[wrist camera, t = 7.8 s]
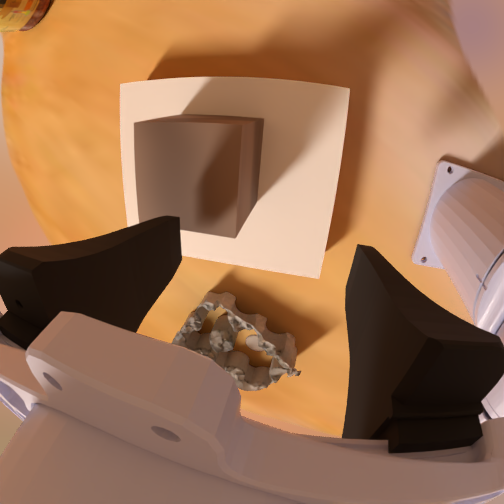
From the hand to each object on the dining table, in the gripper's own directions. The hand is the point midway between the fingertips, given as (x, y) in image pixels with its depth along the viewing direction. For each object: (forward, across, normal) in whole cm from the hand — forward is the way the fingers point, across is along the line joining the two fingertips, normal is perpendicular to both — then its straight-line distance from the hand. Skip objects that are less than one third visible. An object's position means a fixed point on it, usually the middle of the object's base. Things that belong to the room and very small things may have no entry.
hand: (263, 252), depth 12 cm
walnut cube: (+6, +4, -2) cm, 8 cm away
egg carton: (+10, +2, +15) cm, 18 cm away
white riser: (+9, +4, -1) cm, 10 cm away
